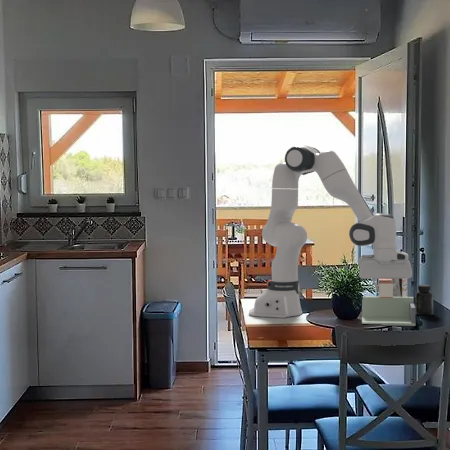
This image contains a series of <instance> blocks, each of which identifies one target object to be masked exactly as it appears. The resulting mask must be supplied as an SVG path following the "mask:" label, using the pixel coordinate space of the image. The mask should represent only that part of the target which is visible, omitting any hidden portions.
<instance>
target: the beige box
mask: <svg viewBox="0 0 450 450" xmlns="http://www.w3.org/2000/svg"><path fill="white" fill-rule="evenodd" d="M378 285H379V290H378V297H380V298H393V282H392V279H378Z"/></svg>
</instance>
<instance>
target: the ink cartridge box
mask: <svg viewBox="0 0 450 450" xmlns="http://www.w3.org/2000/svg"><path fill="white" fill-rule="evenodd" d="M408 280H409V279H402V297H408Z"/></svg>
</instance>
